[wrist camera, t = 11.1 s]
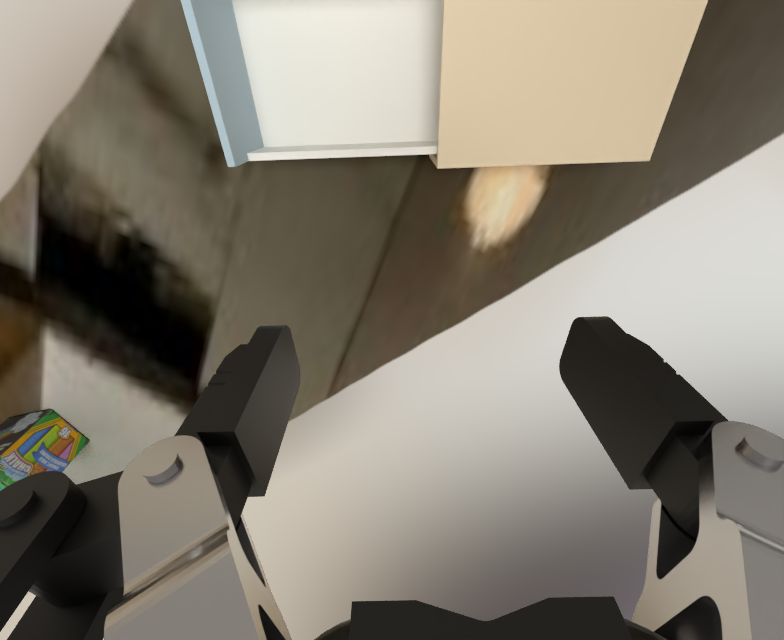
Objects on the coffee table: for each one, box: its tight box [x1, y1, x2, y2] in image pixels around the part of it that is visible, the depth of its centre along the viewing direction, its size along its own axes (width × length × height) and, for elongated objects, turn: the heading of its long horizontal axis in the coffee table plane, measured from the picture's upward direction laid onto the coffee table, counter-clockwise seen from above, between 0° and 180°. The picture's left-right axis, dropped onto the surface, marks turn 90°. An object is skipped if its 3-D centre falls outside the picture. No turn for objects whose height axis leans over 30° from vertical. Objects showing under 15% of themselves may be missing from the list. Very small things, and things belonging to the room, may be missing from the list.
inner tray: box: [181, 0, 443, 167], centre depth 26 cm, size 25×12×8 cm, turn 92°
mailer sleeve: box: [429, 0, 708, 169], centre depth 27 cm, size 18×14×7 cm
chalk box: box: [0, 409, 89, 491], centre depth 51 cm, size 9×9×15 cm
